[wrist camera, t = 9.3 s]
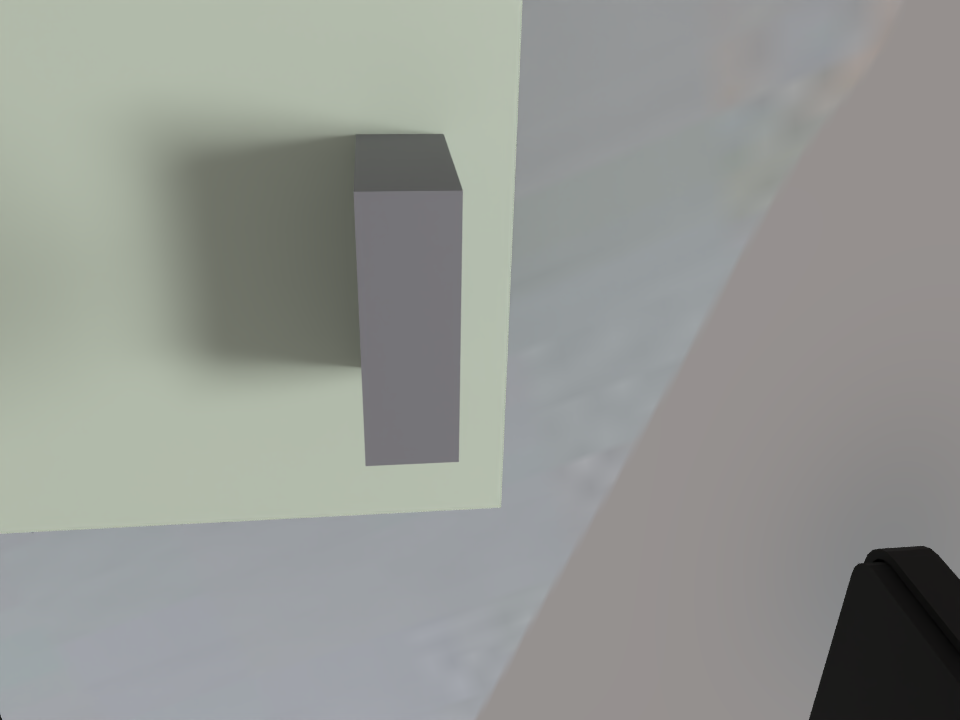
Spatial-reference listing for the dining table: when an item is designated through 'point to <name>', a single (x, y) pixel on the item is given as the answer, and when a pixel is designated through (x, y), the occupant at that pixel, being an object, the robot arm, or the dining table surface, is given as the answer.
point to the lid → (253, 258)
